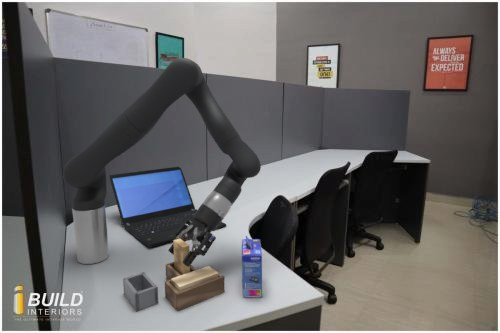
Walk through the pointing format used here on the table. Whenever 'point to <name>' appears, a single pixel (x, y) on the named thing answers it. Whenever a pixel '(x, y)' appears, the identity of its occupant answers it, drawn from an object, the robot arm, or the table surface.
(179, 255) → the oak slat
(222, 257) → the table surface
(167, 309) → the table surface
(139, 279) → the holder
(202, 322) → the table surface
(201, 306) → the table surface
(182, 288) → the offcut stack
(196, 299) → the tray
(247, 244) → the ink cartridge box
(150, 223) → the laptop
